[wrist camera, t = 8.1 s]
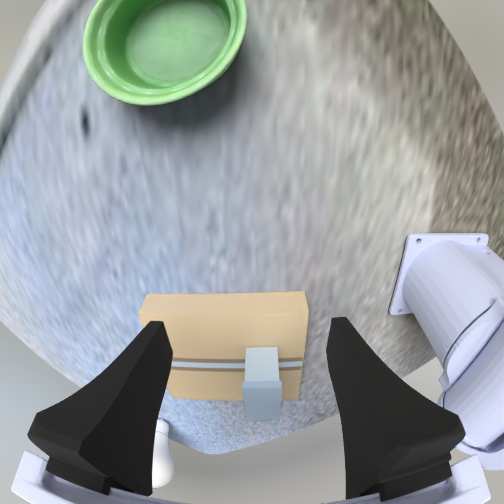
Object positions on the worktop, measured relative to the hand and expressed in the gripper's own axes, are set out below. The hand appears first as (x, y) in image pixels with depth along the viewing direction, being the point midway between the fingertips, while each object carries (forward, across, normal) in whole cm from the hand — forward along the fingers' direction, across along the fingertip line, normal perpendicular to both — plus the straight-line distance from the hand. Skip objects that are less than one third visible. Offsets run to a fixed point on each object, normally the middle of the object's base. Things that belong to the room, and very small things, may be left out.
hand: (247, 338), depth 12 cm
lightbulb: (+10, +14, +28) cm, 33 cm away
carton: (+10, +2, +11) cm, 15 cm away
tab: (+7, 0, +11) cm, 13 cm away
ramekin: (+10, +4, -14) cm, 18 cm away
